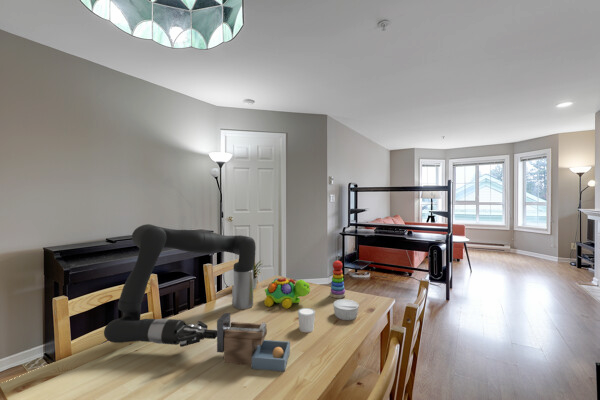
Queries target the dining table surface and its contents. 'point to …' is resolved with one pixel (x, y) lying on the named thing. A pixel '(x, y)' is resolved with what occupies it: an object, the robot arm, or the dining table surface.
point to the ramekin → (346, 309)
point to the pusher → (223, 325)
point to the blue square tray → (270, 356)
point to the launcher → (242, 343)
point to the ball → (278, 352)
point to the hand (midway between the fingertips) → (216, 334)
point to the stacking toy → (337, 281)
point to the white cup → (306, 319)
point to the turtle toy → (285, 292)
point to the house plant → (255, 274)
